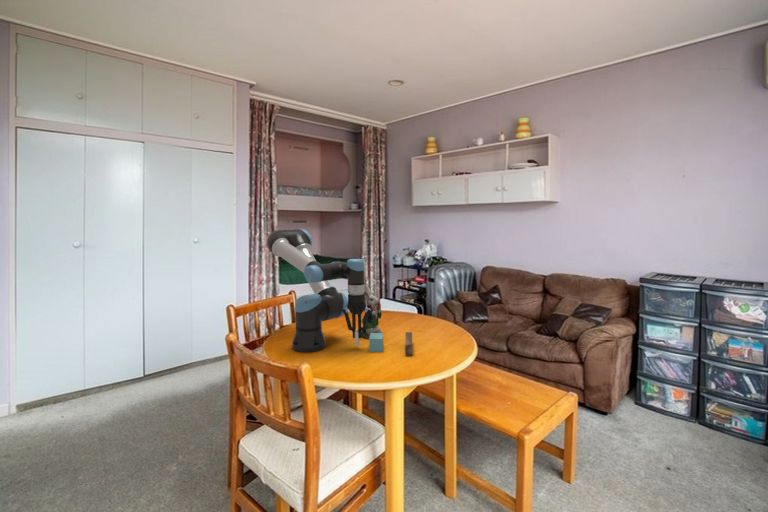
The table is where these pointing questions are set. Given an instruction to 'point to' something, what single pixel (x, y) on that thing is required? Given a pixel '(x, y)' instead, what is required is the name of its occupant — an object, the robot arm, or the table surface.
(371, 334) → the block
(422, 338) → the table surface
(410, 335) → the board
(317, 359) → the table surface
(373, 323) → the figurine
